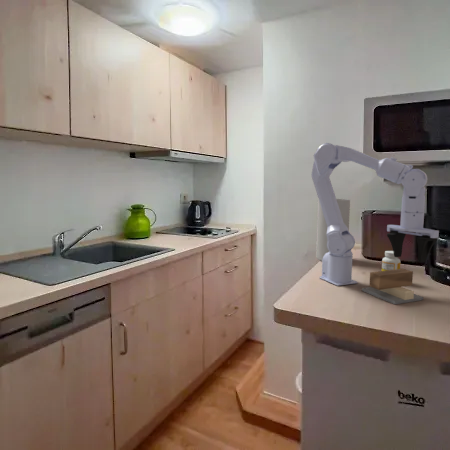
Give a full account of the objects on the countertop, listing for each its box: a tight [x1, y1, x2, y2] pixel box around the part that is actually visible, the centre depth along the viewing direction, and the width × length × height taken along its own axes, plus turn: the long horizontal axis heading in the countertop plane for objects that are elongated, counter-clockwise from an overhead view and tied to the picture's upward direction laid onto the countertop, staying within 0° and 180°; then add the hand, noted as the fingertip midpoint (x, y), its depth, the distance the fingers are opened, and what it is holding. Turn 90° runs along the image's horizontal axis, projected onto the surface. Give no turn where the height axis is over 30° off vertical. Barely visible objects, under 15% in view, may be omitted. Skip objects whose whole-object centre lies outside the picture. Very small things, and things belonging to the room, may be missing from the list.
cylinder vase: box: [315, 198, 351, 262], centre depth 138 cm, size 12×12×25 cm
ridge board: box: [361, 286, 424, 305], centre depth 95 cm, size 12×10×3 cm
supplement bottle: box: [381, 250, 401, 271], centre depth 109 cm, size 5×5×10 cm
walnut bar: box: [369, 268, 414, 290], centre depth 95 cm, size 4×12×4 cm, turn 110°
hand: (409, 259), depth 96 cm, fingers open, 7 cm apart
